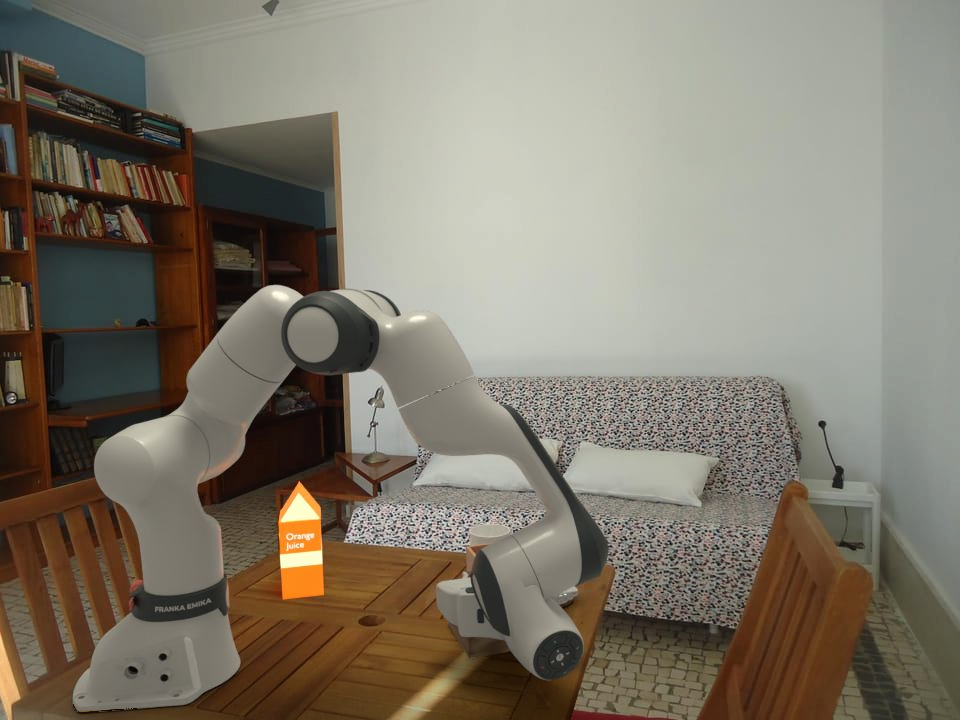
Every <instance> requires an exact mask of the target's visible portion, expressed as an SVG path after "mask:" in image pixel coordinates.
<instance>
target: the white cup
mask: <svg viewBox="0 0 960 720" xmlns="http://www.w3.org/2000/svg"><path fill="white" fill-rule="evenodd" d="M468 532H469V544H470V545H469V546H473V545H480V544H488V543H493V542H495V541H497V540H499V539H501V538H503V537H505V536H507V535H511V528H510V527H509V526H507V525H504V524H498V523H484V524H482V523H481V524H478V525H477V524H476V525H475V526H472V527H471V528H470V529H469V531H468Z"/></svg>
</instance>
